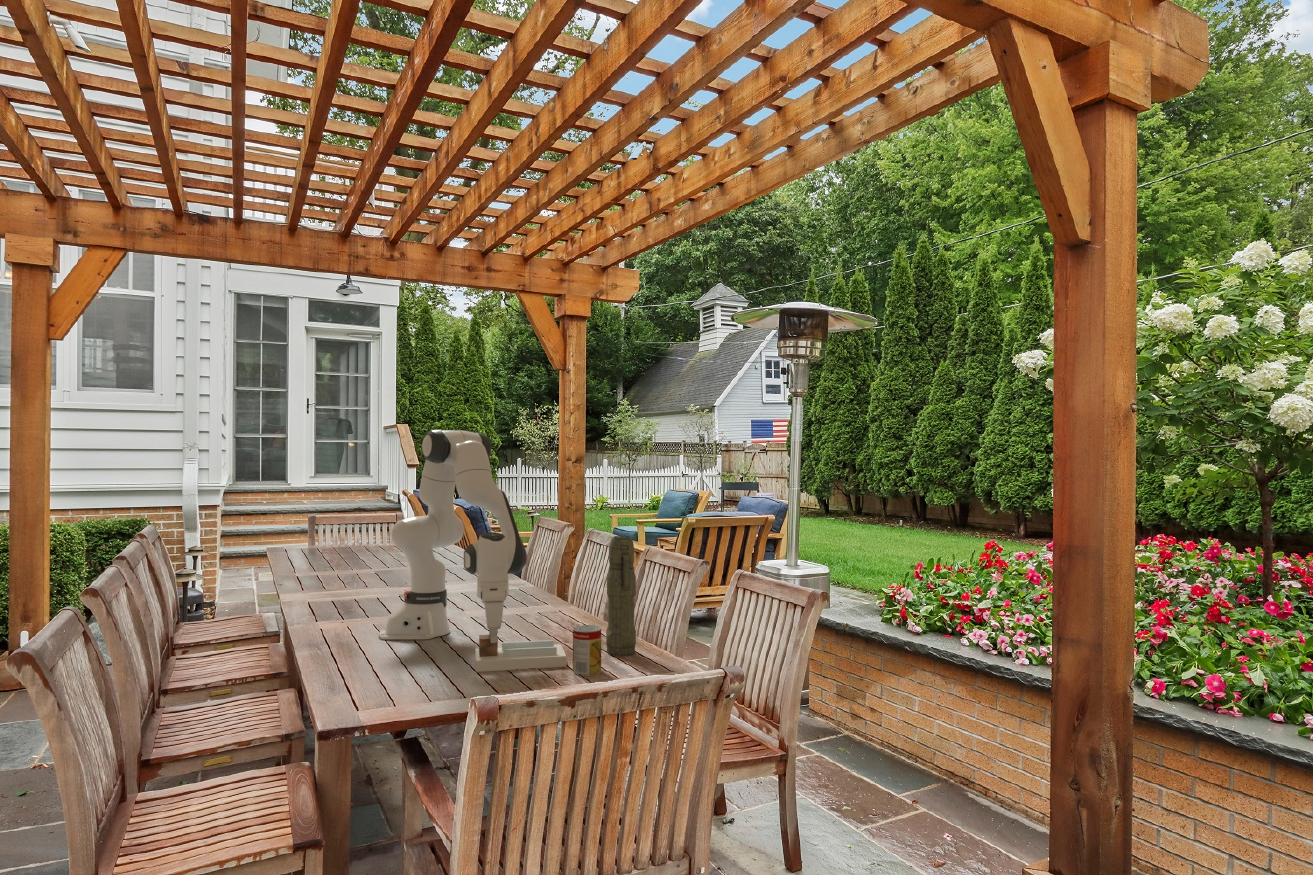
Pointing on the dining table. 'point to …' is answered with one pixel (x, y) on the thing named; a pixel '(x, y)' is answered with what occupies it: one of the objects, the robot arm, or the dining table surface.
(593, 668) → the canned food
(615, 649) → the thermos
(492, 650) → the walnut block
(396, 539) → the robot arm
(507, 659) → the channel
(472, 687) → the dining table surface
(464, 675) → the dining table surface
